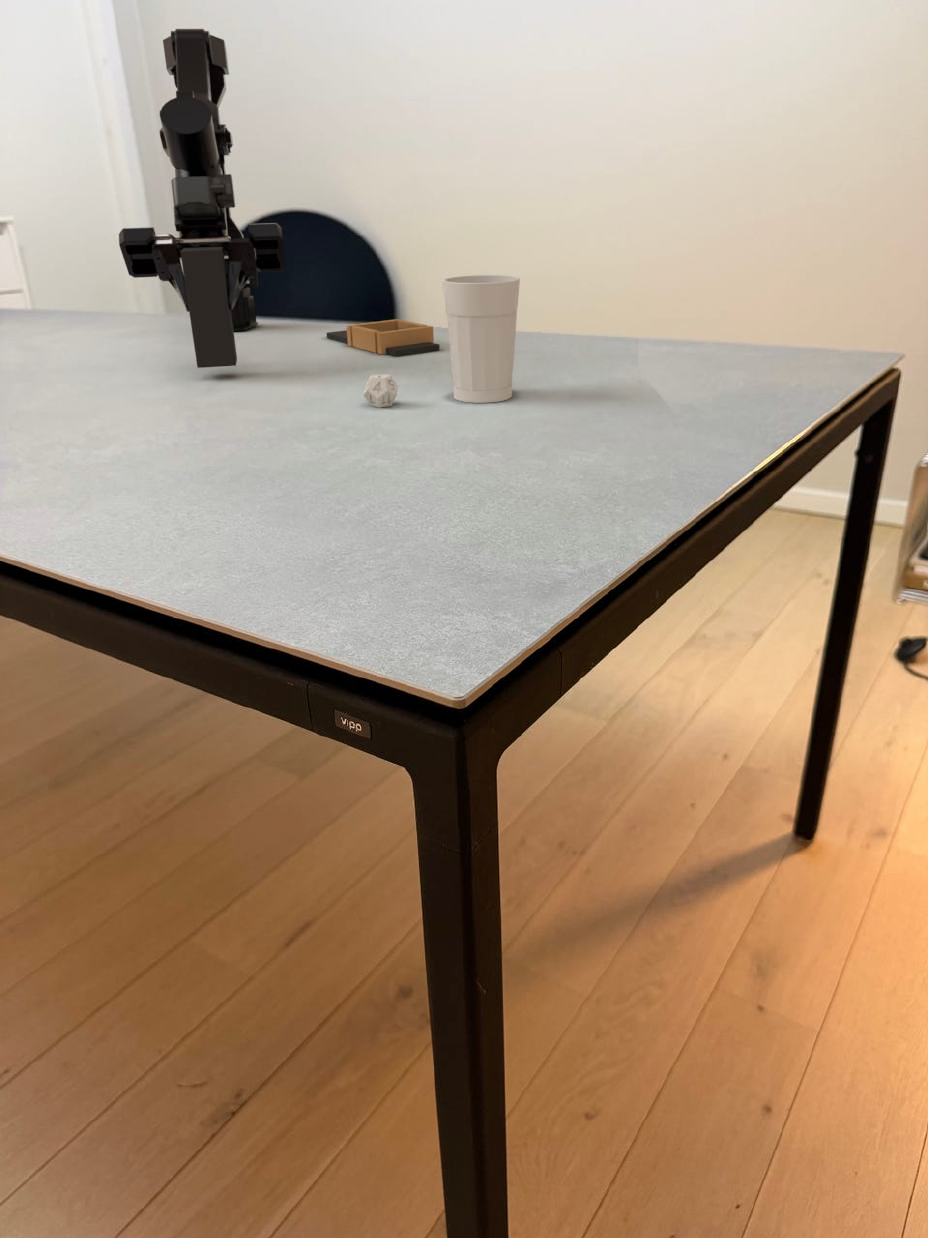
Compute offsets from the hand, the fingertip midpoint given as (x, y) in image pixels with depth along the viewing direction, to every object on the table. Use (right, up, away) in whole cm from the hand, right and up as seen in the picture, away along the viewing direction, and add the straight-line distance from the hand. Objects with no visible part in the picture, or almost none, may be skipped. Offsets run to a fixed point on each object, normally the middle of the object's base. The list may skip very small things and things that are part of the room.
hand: (209, 308), depth 108 cm
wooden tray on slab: (+18, +3, +24) cm, 30 cm away
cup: (+32, -12, -8) cm, 35 cm away
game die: (+21, -14, -11) cm, 28 cm away
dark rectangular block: (0, -5, +4) cm, 7 cm away
